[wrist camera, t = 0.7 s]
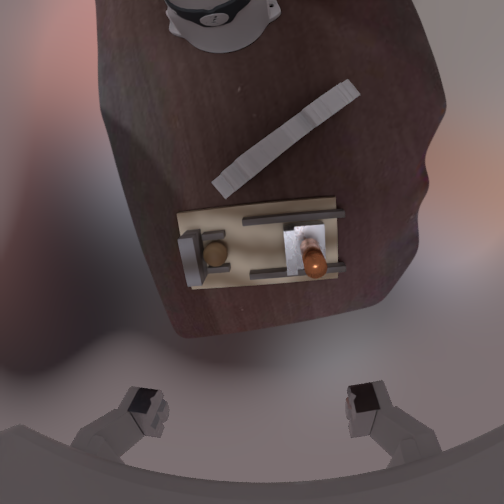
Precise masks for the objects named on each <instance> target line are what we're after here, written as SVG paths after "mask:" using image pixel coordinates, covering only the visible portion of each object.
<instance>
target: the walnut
mask: <svg viewBox="0 0 504 504" xmlns="http://www.w3.org/2000/svg"><path fill="white" fill-rule="evenodd" d="M227 256H228V253H227V249H226V247H225V246H224V245H223V244H221V243H219V242H211V243H209V244H208V245H207V246H206V247H205V248H204V251H203V258H204V260H205V262H206V263H207V264H208V265H210V266H213V267H218V266H221V265H222V264H224V263H225V261H226V259H227Z"/></svg>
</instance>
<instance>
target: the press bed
mask: <svg viewBox="0 0 504 504" xmlns="http://www.w3.org/2000/svg"><path fill="white" fill-rule="evenodd" d="M343 217H345V211H344V210H343V209H336V197H335V196H330V197H316V198H304V199H292V200H281V201H270V202H260V203H251V204H241V205H232V206H224V207H215V208H207V209H200V210H192V211H184V212H178V213H177V219H178V225H179V230H180V235H181V236H180V237H179V238H178V244H179V249H180V254H181V258H182V263H183V268H184V272H185V277H186V281H187V285H188V287H189V286H191V287H192V289H205V288H221V287H236V286H250V285H263V284H276V283H288V282H299V281H310V280H321V279H332V278H338V272H346V265H345V264H344V262H338V239H337V218H343ZM321 220H322V221H323V223H324V226H325V249H326V263H327V267H328V268H327V272H326V274H325V275H324V276H322V277H321V278H317V279H313V278H310V277H309V276H308V275H307V274H306V272H305V269H297V270H298V275H289V276H287V265H286V253H285V242H284V231H283V224H286V223H297V222H309V221H321ZM211 242H219V243H221V244H223V245H224V246H225V247H226V249H227V253H228V256H227V259H226V261H225V263H224V264H222V265H221V266H218V267H213V266H210V265H208V264H207V263H206V262H205V260H204V258H203V251H204V248H205V247H206V246H207V245H208V244H209V243H211Z"/></svg>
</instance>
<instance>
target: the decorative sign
mask: <svg viewBox="0 0 504 504" xmlns="http://www.w3.org/2000/svg"><path fill="white" fill-rule="evenodd" d="M359 95H361V94H360V93H359V92H358V91H357V89H356V88H355V87H354V86H353V84H352V83H351V82H350V81H349V80H348V79H347V80H345V81H344V82H342V83H339V84H338V85H336V86H335V87H333V88H332V89H331V90H329V91H328V92H326V93H325V94H323V95H322V96H320V97H319V98H318V99H316V100H315V101H313V102H312V103H311V104H309V105H308V106H306V107H305V108H304V109H303V110H302V111H301V112H300V113H298V114H297V115H295V116H294V117H293V118H291V119H290V120H288V121H287V122H286V123H284V124H283V125H282V126H281V127H279V128H278V129H276V130H275V131H274V132H272V133H271V134H269V135H268V136H267V137H265V138H264V139H262V140H261V141H260V142H258V143H257V144H256V145H254V146H253V147H251V148H250V149H249V150H247V151H246V152H245V153H243V154H242V155H241V156H239V157H238V158H237V159H236V160H235V161H234V162H233V163H232V164H231V165H230V166H228V167H227V168H226V169H225V170H223V171H222V172H221V175H219V176H218V177H217V178H216V179H215V180H213V181H212V182H211V183H212V184H213V185H214V186H215V187H216V189H217V190H218V191H219V192H220V193H221V194H222V196H223V197H224V198H225V199H226V198H227V197H229V196H230V195H231V194H232V193H233V192H234V191H236V190H238V189H239V188H240V187H241V186H242V185H244V184H245V183H246V182H247V181H248V180H250V179H251V178H253V177H254V176H255V175H256V174H257V173H259V172H260V171H261V170H262V169H263V168H265V167H266V166H267V165H268V164H269V163H271V162H272V161H273V160H274V159H275V158H277V157H278V156H279V155H280V154H282V153H283V152H284V151H285V150H287V149H288V148H289V147H290V146H291V145H293V144H294V143H295V142H297V141H298V140H299V139H301V138H302V137H303V136H304V135H306V134H307V133H308V132H310V131H311V130H312V129H314V128H315V127H317V126H318V125H320V124H321V123H322V122H324V121H325V120H326V119H328V118H329V117H330V116H332V115H333V114H335V113H336V112H337V111H339V110H340V109H342V108H343V107H344V106H346V105H347V104H349V103H350V102H351V101H353V100H354V99H355V98H357V97H358V96H359Z"/></svg>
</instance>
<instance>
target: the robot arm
mask: <svg viewBox="0 0 504 504" xmlns="http://www.w3.org/2000/svg"><path fill="white" fill-rule="evenodd" d="M165 2H166V4H167V6H168V9H167V11H166V15H167V16H168V18H169V19H170V25H169V31H170V32H171V34H173V35H175V36H179V37H183V38H185V39H186V40H188V41H189V42H190V43H191V44H192V45H193V46H195V47H196V48H198V49H201V50H203V51H207V52H212V53H226V52H232V51H236V50H239V49H242V48H244V47H246V46H248V45H249V44H251V43H252V42H254V41H255V40H256V39H257V38H258V37H259V36H260V35H261V34H262V33H263V31H264V29H265V28H266V26H267V25H268V24H269V23H270V22H272V21H273V20H275V19H276V18H278V17H279V16H280V15H281V9H280V7H279V5H278V3H277V1H276V0H165ZM271 5H272V6H274V7H269V6H271ZM347 394H348V397H347V398H346V416H347V419H348V420H350V421H349V426H348V427H349V432H350V436H351V438H353V437H361V436H367V435H370V437H371V438H372V439H374V440H375V441H376V442H377V443H378V444H379V445H380V446H381V447H382V448H383V449H384V450H385V451H386V452H387V453H388V454H389V455H391V456H392V459H391V461H390V463H389V465H388V467H387V468H386V469H383V470H378V471H373V472H368V473H363V474H358V475H352V476H346V477H339V478H332V479H324V480H313V481H302V482H280V483H249V482H228V481H215V480H205V479H196V478H189V477H182V476H176V475H170V474H165V473H159V472H154V471H150V470H145V469H141V468H136V467H132V466H129V465H125V463H124V462H123V461H122V460H121V459H120V456H122V455H123V454H124V453H125V452H126V451H128V450H129V449H130V448H131V447H132V446H134V444H136V443H137V442H138V441H139V440H141V439H142V438H143V437H144V435H145V436H151V437H158V438H160V437H161V435H162V432H163V429H164V425H163V423H164V422H165V421H167V419H168V416H169V406H168V403H167V402H166V401H165V400H164V399H163V396H164V395H163V393H162V391H161V390H154V389H148V388H140V387H133V386H132V387H130V388H129V389H128V392H127V393H126V395H125V397H124V398H123V400H122V402H121V404H120V405H119V407H118V409H114V410H112V411H111V412H109V413H107V414H106V415H104V416H102V417H100V418H99V419H97V420H95V421H93V422H92V423H90V424H89V425H87V426H85V427H83V428H81V429H80V430H79V432H78V433H77V435H76V437H75V438H74V440H73V442H72V443H71V445H70V446H68V445H66V444H63V443H61V442H58V441H56V440H54V439H51V438H49V437H47V436H45V435H43V434H40V433H39V432H37V431H35V430H32V429H30V428H28V427H26V426H25V425H20V424H19V425H16V426H13V427H10V428H8V429H5V430H3V431H1V432H0V504H504V424H503V425H501V426H500V427H498V428H495V429H494V430H492V431H490V432H488V433H485V434H483V435H481V436H479V437H477V438H475V439H473V440H470V441H468V442H466V443H463V444H461V445H459V446H456V447H454V448H451V449H449V450H446V451H443V452H442V450H441V447H440V445H439V442H438V440H437V437H436V435H435V433H434V431H433V430H432V429H430V428H429V427H427V426H426V425H424V424H423V423H421V422H419V421H418V420H416V419H415V418H413V417H412V416H410V415H409V414H407V413H405V412H404V411H403V410H401V409H400V408H398V407H397V406H395V407H393V405H392V402H391V400H390V397H389V394H388V392H387V389H386V387H385V384H384V382H383V381H382V380H381V381H376V382H371V383H370V382H369V383H364V384H359V385H351V386H348V389H347Z"/></svg>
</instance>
